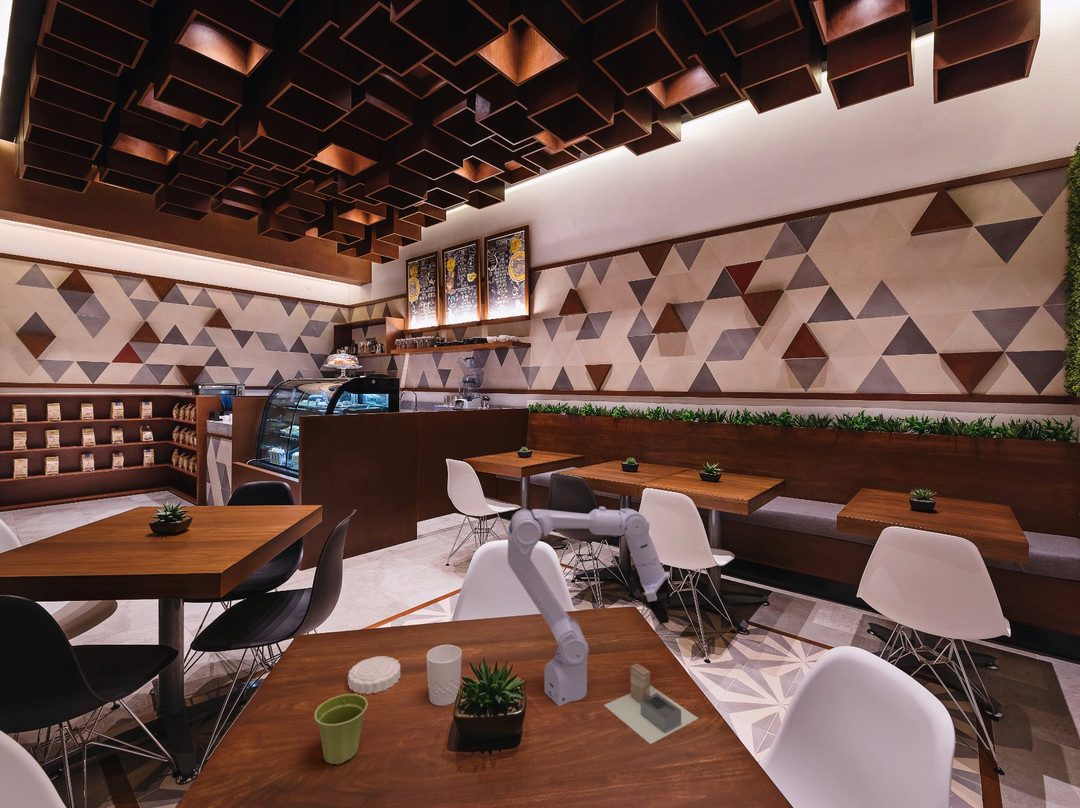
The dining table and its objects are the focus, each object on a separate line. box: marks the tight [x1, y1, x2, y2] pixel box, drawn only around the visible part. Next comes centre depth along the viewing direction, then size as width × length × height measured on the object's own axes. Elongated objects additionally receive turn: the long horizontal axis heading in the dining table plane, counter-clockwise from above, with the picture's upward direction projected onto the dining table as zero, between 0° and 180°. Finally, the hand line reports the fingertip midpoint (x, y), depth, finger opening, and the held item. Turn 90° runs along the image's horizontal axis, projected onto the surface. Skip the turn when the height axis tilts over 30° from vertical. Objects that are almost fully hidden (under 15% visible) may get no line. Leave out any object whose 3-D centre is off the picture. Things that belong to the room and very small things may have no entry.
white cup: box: [426, 644, 463, 707], centre depth 108 cm, size 8×8×10 cm
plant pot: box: [313, 693, 368, 765], centre depth 91 cm, size 9×9×9 cm
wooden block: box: [630, 663, 651, 704], centre depth 105 cm, size 2×4×7 cm, turn 32°
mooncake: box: [347, 655, 401, 694], centre depth 114 cm, size 12×12×4 cm
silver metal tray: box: [641, 693, 681, 733], centre depth 99 cm, size 5×7×3 cm
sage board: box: [603, 684, 699, 745], centre depth 101 cm, size 14×14×1 cm
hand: (665, 612), depth 111 cm, fingers open, 7 cm apart
